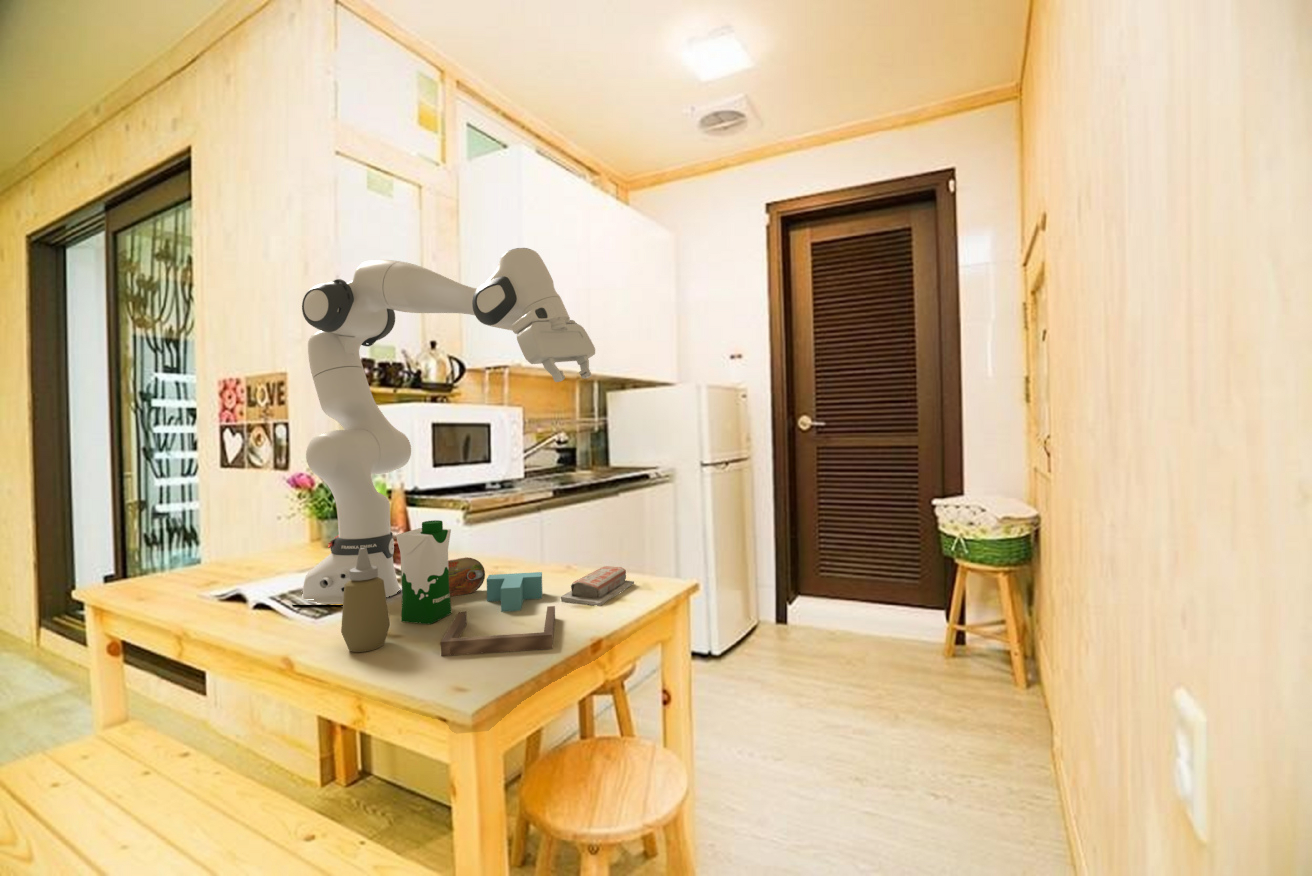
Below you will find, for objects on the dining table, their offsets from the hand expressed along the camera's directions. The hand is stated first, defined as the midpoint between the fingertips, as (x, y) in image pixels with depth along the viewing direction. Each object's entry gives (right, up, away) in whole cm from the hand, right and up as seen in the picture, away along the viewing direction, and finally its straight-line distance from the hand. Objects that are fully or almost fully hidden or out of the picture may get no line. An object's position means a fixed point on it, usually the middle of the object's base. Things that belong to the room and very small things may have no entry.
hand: (574, 379), depth 128 cm
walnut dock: (-12, -49, -11) cm, 52 cm away
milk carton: (-30, -50, -1) cm, 58 cm away
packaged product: (+4, -49, +15) cm, 51 cm away
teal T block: (-15, -49, +8) cm, 52 cm away
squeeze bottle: (-35, -50, -16) cm, 64 cm away
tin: (-31, -49, +15) cm, 60 cm away
